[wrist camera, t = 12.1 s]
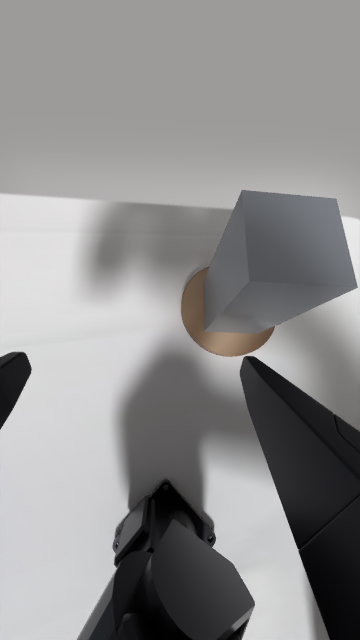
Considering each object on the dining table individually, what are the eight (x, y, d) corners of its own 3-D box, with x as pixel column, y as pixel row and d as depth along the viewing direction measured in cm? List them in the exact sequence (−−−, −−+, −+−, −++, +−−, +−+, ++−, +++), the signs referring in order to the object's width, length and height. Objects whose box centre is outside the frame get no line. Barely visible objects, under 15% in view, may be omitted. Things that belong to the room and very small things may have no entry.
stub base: (288, 311, 25) (316, 296, 20) (231, 377, 22) (249, 377, 17) (222, 253, 26) (235, 227, 22) (161, 308, 24) (161, 292, 19)
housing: (257, 333, 22) (357, 287, 11) (204, 331, 22) (249, 281, 10) (253, 284, 24) (336, 198, 12) (203, 281, 24) (241, 190, 12)
